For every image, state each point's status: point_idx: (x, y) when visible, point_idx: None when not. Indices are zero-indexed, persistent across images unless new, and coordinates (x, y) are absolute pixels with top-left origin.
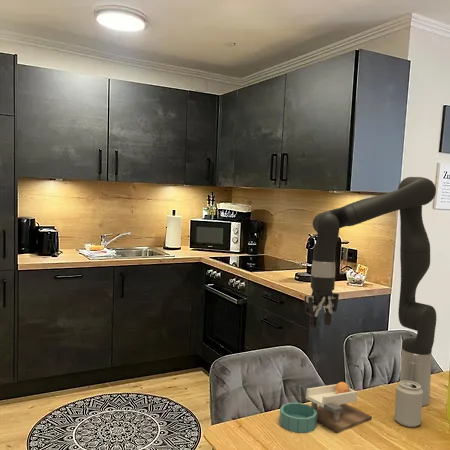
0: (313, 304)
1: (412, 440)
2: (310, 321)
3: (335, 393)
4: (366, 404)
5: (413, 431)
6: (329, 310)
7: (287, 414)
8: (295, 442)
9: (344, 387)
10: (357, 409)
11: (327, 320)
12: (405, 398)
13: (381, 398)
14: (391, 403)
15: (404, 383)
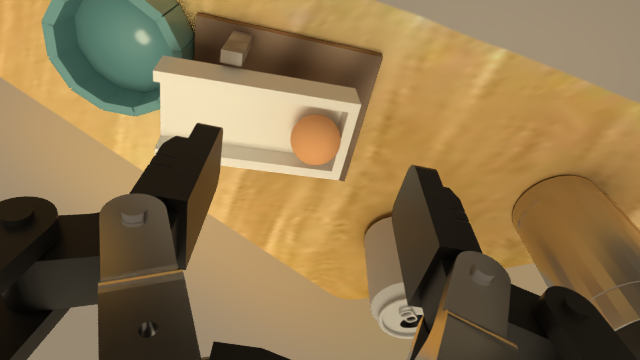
0: (155, 341)
1: (313, 263)
2: (150, 165)
3: (305, 108)
4: (436, 128)
5: (357, 254)
6: (408, 356)
7: (54, 43)
8: (51, 95)
9: (301, 160)
10: (357, 137)
11: (406, 228)
12: (369, 294)
13: (517, 142)
14: (494, 174)
15: (402, 313)
